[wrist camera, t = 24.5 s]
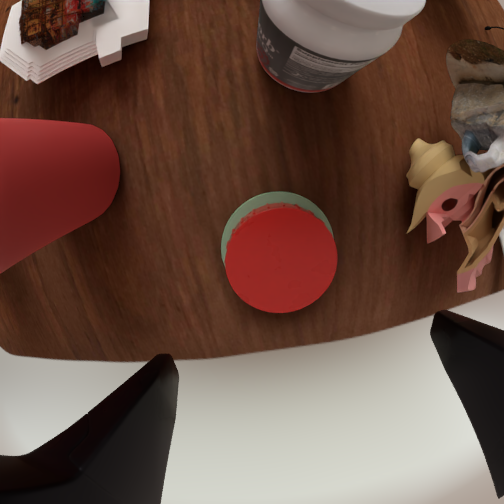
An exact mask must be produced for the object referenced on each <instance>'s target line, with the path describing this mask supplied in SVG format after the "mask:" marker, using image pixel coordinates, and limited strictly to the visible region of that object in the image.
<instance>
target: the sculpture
mask: <svg viewBox="0 0 504 504" xmlns="http://www.w3.org/2000/svg"><path fill="white" fill-rule="evenodd" d="M446 63H447V69H448V72H449V75H450V78H451V80H452V83H453V85H454V87H455V89H456V90H455V93H454V96H453V100H452V110H451V117H450V119H451V120H452V121H451V125H452V127H453V129H454V130H455V131H456V132H457V133H458V134H459V136H460V138H461V140H462V152H463V156H464V158H465V161H466V162H467V164H468V165H469V167H470V168H471V170H472V171H474V172H476V173H477V172H485V171H487V170H488V169H491V168H495V167H499V166H500V165H502V164H503V163H504V51H503V50H501V49H499V48H497V47H495V46H493V45H491V44H488V43H485V42H481V41H477V40H460V41H457V42H455V43H454V44H452V45H451V46H450V47H449V49H448V51H447V55H446ZM479 149H480V150H488V152H487V153H484V154H480V155H477V152H478V151H479Z"/></svg>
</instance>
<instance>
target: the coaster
mask: <svg viewBox="0 0 504 504" xmlns="http://www.w3.org/2000/svg"><path fill="white" fill-rule="evenodd" d="M281 202H283V203H289V204H294V205H295V204H297V205H298V206H300V207H302V208H304V209H306V210H308V209H309V210H310V211H311V212H313V213H314V215H315V216H316V217H317V218H320V219H321V220H322V221H323V222H324V223H325V224H324V225H325V226H326V227H327V229H328V230H329V231H330V233H331V234H332V237H333V239H334V236H333V232H332V228H331V226H330V223H329V221H328V219H327V218H326V216H325V215H324V213H323V212H322V211H321V210H320V209H319V208H318V207H317V206H316V205H315V204H314V203H312V202H311V201H310V200H308V199H306V198H304V197H303V196H300V195H297V194H294V193H290V192H281V191H277V192H268V193H263V194H260V195H257V196H255V197H253V198H251V199H249V200H248V201H246V202H245V203H243V204H242V205H241V206H240V207H239V208H237V210H236V211H235V212H234V213H233V214H232V216H231V217H230V219H229V220H228V222H227V224H226V226H225V229H224V232H223V236H222V241H221V254H222V260H223V264H224V266H225V263H224V260H225V256H226V252H227V249H226V245H227V241H229V239H230V236H231V233H232V229H233V228H235V227H236V225H237V224H238V223H239V222H240V220H241V218H242V217H245V216H246V215H247V214H248V213H250V212H251V211H252V209H257V208H259V207H261V206H264V205H266V203H268V204H273V203H281ZM225 269H226V267H225Z"/></svg>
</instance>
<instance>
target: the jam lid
mask: <svg viewBox="0 0 504 504" xmlns="http://www.w3.org/2000/svg"><path fill="white" fill-rule="evenodd" d="M324 224H325V223H324V222H323V221H322V220H321V219H320V218H317V217H316V216H315V215H314V213H313V212H311V211H310V210H309V209H308V210H306V209H304V208H302V207H300V206H298V205H297V204H295V205H294V204H289V203H283V202H281V203H273V204H268V203H266V205H264V206H261V207H259V208H257V209H252V211H251V212H250V213H248V214H247V215H246V216H245V217H242V218H241V220H240V222H239V223H238V224H237V225H236V227H235V228H233V229H232V233H231V236H230V239H229V241H227V245H226V249H227V252H226V256H225V260H224V263H225V267H226V273H227V277H228V280H229V282H230V285H231V286H232V288H233V290H234V291H235V292H236V294H237V295H238V296H239V297H240V298H241V299H242V300H243V301H245V302H246V303H247V304H249V305H251V306H252V307H254V308H257V309H259V310H262V311H266V312H271V313H287V312H292V311H296V310H299V309H302V308H304V307H306V306H308V305H310V304H311V303H313V302H314V301H316V300H317V299H318V298H319V297H320V296H321V295H322V294H323V293H324V292H325V291H326V290H327V288H328V287H329V285H330V284H331V282H332V280H333V277H334V275H335V272H336V267H337V249H336V244H335V241H334V239H333V237H332V234H331V233H330V231H329V230H328V229H327V227H326V226H325V225H324Z"/></svg>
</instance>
